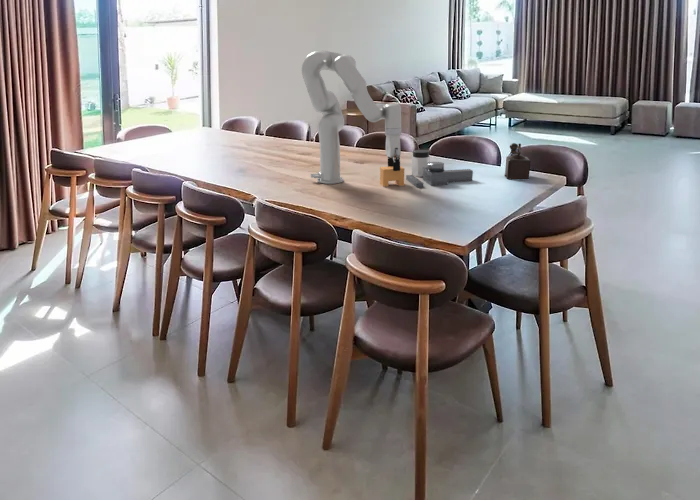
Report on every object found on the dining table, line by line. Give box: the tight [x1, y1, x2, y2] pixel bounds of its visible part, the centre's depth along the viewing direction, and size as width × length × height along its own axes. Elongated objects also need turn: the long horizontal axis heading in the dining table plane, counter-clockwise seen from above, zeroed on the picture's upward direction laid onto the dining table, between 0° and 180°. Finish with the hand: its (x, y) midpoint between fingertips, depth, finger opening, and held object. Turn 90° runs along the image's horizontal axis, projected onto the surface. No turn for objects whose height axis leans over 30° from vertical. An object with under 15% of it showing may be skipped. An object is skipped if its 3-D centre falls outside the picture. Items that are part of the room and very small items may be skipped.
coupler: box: [405, 161, 474, 189], centre depth 298 cm, size 30×18×9 cm, turn 101°
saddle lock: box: [379, 165, 405, 188], centre depth 294 cm, size 10×6×8 cm, turn 101°
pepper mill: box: [504, 142, 531, 180], centre depth 302 cm, size 16×11×18 cm
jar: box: [411, 149, 431, 178], centre depth 312 cm, size 9×8×12 cm
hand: (393, 168), depth 293 cm, fingers open, 9 cm apart
